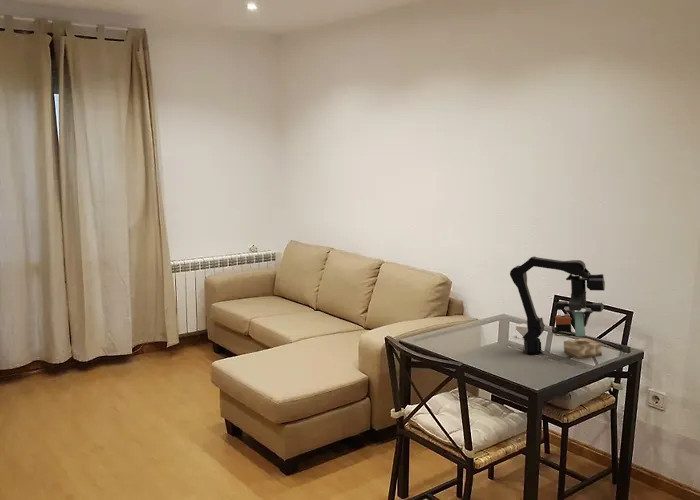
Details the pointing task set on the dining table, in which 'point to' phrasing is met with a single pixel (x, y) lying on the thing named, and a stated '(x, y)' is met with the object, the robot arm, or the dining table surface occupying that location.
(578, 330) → the peg
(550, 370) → the dining table surface
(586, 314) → the robot arm
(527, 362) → the dining table surface
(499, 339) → the dining table surface
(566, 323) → the battery
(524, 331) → the light grey cone
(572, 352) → the bore block
